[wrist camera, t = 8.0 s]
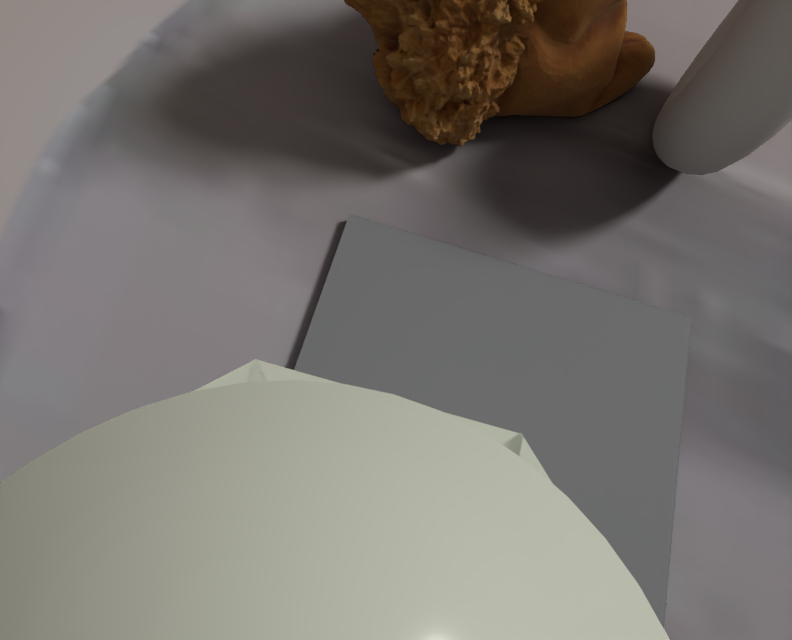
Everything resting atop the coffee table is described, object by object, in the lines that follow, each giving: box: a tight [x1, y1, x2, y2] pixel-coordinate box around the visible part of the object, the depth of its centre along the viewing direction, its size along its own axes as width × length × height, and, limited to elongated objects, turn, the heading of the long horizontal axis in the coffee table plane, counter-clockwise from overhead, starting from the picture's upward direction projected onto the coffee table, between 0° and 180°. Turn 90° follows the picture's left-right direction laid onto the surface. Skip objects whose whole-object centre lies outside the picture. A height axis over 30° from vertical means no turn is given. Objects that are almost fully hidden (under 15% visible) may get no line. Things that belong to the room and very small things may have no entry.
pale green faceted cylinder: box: [0, 359, 670, 640], centre depth 9 cm, size 7×7×12 cm
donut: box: [652, 0, 792, 175], centre depth 18 cm, size 10×4×10 cm, turn 145°
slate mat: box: [294, 214, 691, 628], centre depth 17 cm, size 17×14×1 cm
